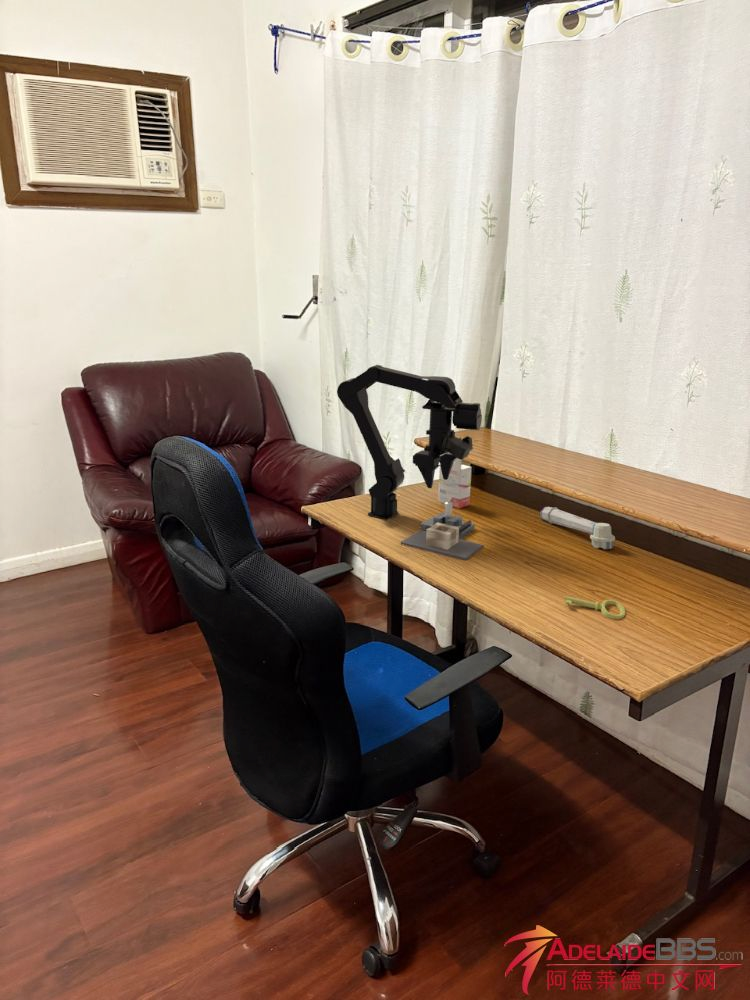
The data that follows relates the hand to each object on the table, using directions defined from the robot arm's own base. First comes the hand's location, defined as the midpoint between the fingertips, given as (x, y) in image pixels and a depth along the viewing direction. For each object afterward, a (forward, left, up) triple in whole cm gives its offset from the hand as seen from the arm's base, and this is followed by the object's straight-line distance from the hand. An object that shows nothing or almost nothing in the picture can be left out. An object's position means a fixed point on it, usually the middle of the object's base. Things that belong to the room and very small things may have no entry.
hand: (437, 483), depth 194 cm
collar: (+9, -14, -10) cm, 20 cm away
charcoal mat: (+9, -14, -11) cm, 20 cm away
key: (+51, -26, -12) cm, 59 cm away
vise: (+5, -3, -11) cm, 12 cm away
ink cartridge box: (-3, +17, -11) cm, 21 cm away
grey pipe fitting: (+34, +13, -12) cm, 39 cm away
